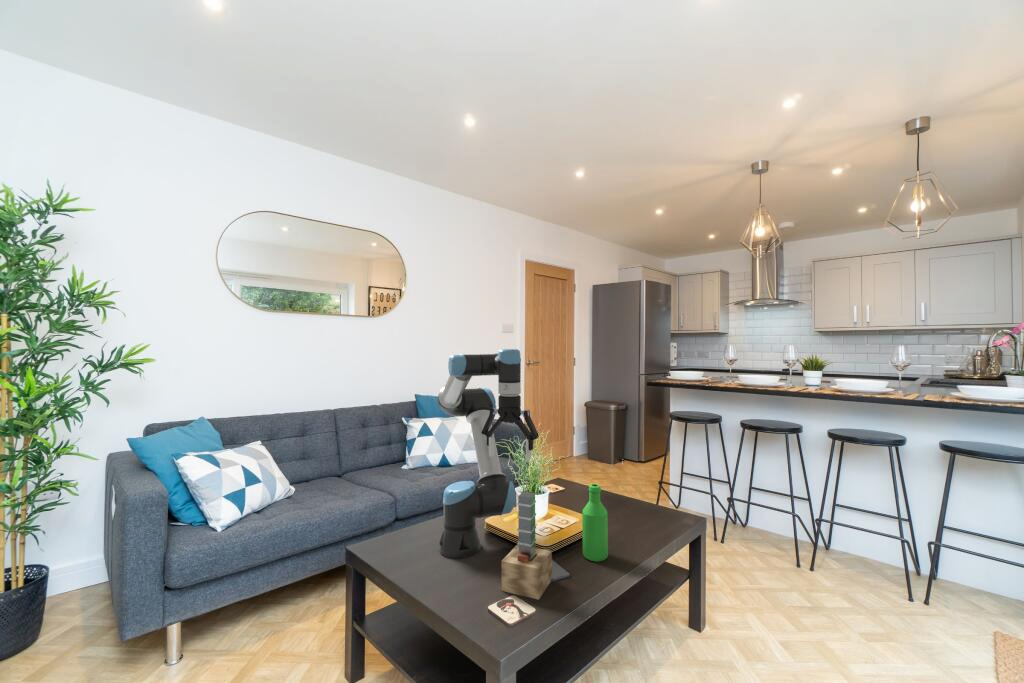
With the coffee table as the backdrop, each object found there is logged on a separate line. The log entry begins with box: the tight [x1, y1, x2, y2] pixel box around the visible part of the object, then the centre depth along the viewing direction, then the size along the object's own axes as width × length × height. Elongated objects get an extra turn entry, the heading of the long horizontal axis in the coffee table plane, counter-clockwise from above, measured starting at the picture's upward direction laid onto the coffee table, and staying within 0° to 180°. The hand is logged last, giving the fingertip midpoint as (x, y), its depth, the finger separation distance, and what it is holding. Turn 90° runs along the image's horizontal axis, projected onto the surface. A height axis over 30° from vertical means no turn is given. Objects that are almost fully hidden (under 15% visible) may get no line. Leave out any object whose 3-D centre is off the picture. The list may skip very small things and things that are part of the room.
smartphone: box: [550, 559, 571, 583], centre depth 147 cm, size 8×1×15 cm
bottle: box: [581, 483, 609, 562], centre depth 155 cm, size 9×9×25 cm
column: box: [517, 491, 537, 561], centre depth 137 cm, size 4×4×22 cm
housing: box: [500, 544, 553, 601], centre depth 137 cm, size 12×12×11 cm
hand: (509, 457), depth 149 cm, fingers open, 13 cm apart
